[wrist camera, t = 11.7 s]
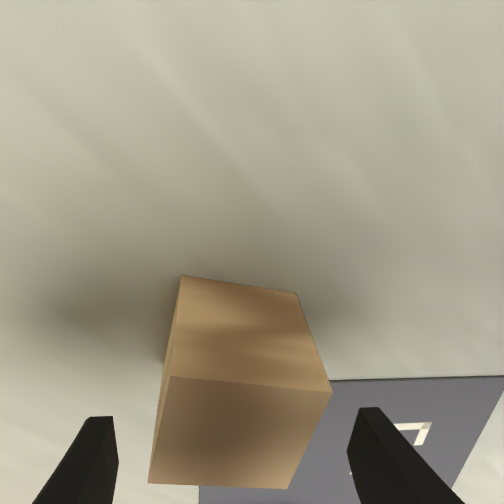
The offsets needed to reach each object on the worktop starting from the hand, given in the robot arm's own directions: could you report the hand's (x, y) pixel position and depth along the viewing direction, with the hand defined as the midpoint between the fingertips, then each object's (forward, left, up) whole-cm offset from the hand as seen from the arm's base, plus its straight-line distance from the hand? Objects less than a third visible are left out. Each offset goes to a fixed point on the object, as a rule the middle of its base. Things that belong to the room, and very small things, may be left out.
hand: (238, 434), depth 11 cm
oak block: (0, 0, -5) cm, 5 cm away
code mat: (-6, +11, -5) cm, 13 cm away
